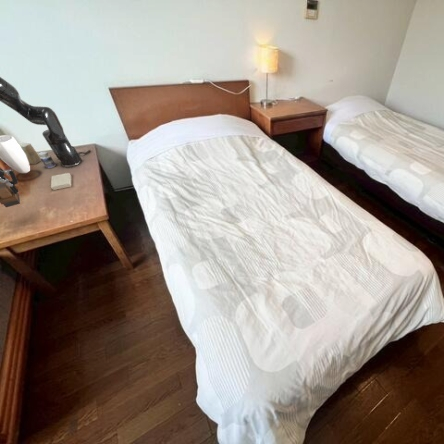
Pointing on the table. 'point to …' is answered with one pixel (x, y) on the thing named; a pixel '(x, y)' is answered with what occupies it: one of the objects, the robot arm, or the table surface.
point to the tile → (61, 181)
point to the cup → (13, 154)
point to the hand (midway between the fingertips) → (7, 195)
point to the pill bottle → (46, 159)
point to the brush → (8, 196)
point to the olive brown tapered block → (30, 153)
